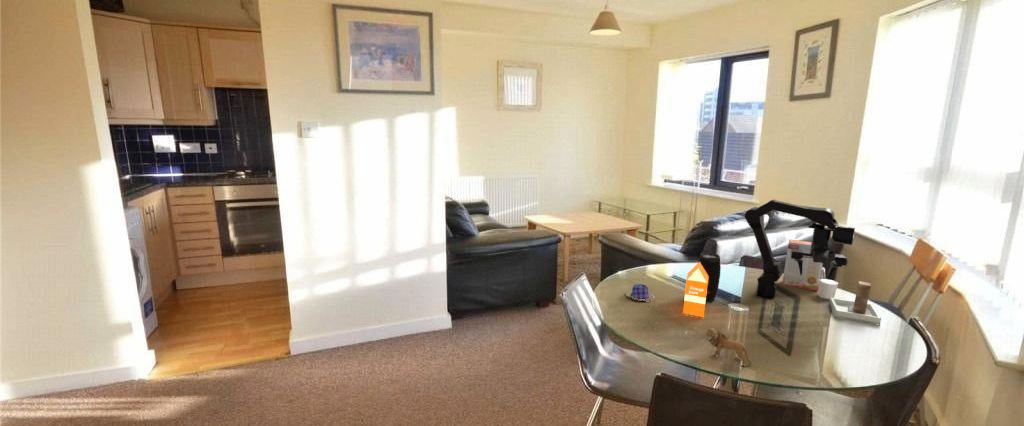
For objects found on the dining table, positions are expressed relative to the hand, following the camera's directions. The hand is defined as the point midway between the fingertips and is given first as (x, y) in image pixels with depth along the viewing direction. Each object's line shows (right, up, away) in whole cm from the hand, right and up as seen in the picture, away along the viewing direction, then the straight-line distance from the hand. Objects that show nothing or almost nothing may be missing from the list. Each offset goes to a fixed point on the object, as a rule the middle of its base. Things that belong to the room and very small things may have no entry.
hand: (814, 276), depth 184 cm
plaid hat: (-68, -10, +11) cm, 69 cm away
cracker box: (+10, -8, +24) cm, 27 cm away
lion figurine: (-53, -22, -36) cm, 68 cm away
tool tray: (+13, -14, -3) cm, 20 cm away
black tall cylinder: (-40, -11, +9) cm, 43 cm away
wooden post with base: (+14, -14, -5) cm, 20 cm away
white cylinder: (+14, -11, +14) cm, 22 cm away
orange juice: (-50, -14, -3) cm, 52 cm away
